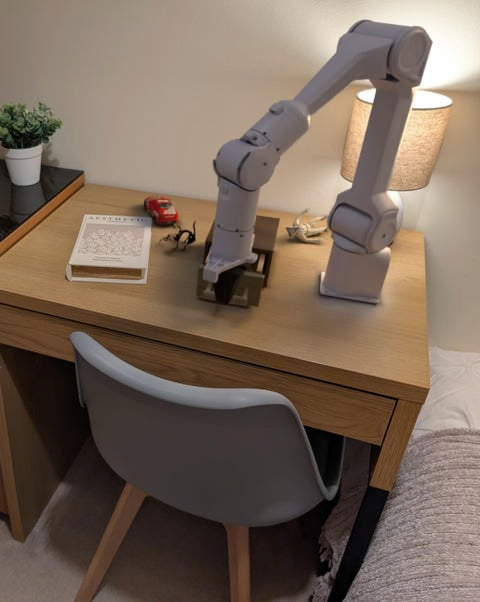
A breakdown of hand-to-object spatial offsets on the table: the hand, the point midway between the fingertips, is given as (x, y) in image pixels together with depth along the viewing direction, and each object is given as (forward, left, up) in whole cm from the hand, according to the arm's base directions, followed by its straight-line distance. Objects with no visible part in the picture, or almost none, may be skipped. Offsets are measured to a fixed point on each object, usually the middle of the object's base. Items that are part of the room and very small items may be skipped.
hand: (223, 301), depth 90 cm
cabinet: (0, -22, -5) cm, 23 cm away
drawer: (0, -10, -4) cm, 11 cm away
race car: (+20, -39, -5) cm, 44 cm away
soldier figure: (-12, -39, -5) cm, 41 cm away
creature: (+13, -25, -5) cm, 29 cm away
